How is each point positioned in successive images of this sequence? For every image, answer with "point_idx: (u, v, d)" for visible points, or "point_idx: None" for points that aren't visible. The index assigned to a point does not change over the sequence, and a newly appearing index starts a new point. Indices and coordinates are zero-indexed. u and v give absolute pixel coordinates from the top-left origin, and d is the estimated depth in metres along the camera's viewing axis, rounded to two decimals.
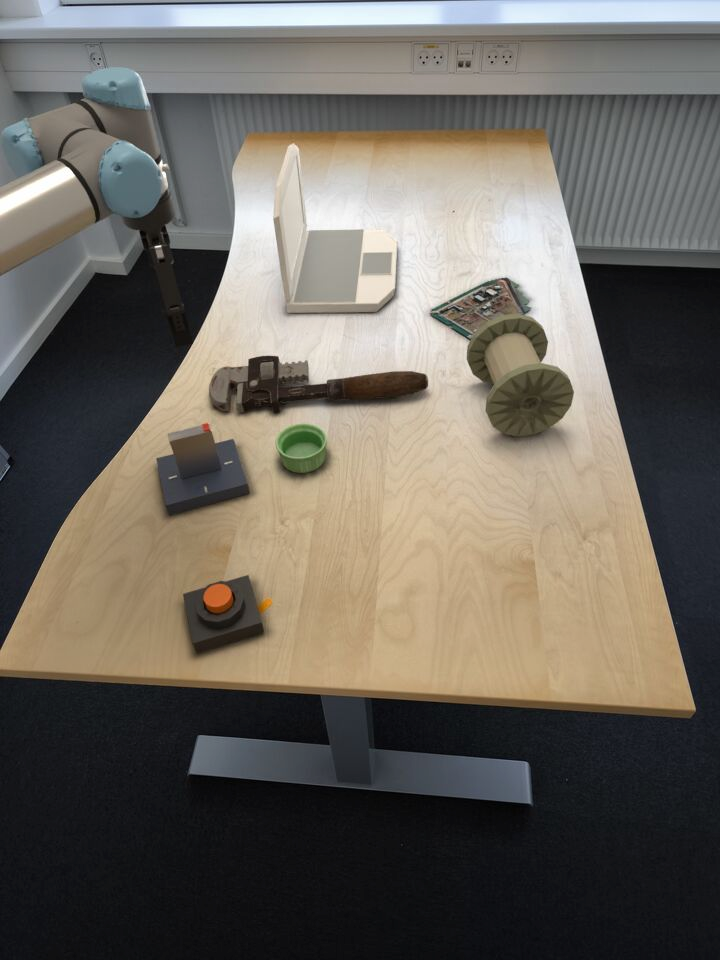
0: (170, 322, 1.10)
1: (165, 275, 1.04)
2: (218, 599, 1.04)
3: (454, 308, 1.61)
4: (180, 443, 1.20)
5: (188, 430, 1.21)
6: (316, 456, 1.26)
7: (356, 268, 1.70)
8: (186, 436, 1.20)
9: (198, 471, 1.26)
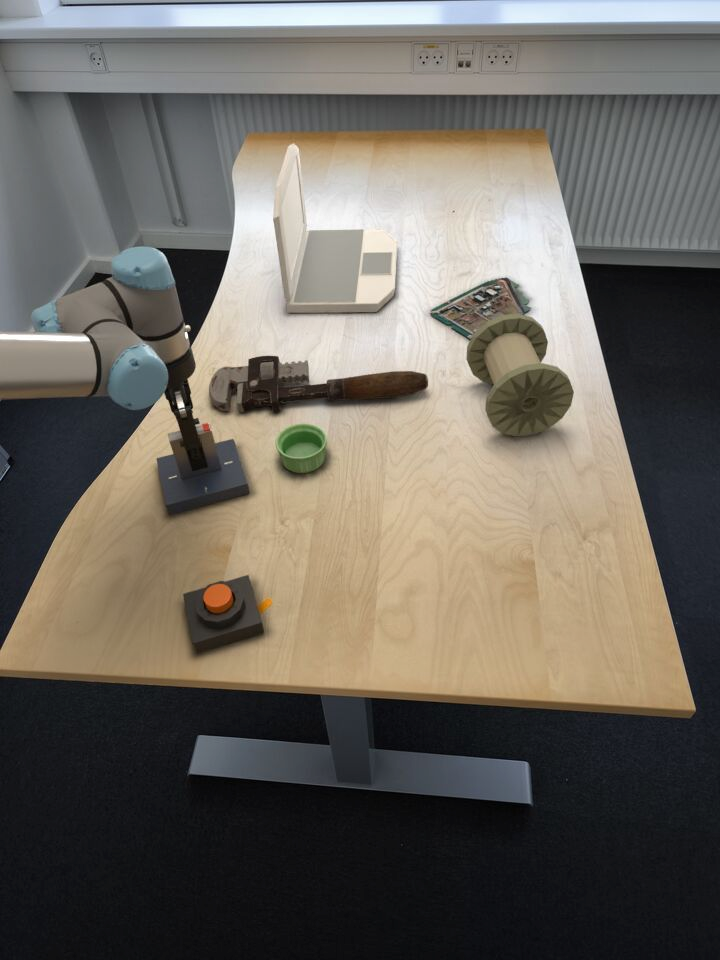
0: (187, 452, 1.21)
1: (187, 427, 1.13)
2: (218, 599, 1.04)
3: (454, 308, 1.61)
4: None
5: None
6: (316, 456, 1.26)
7: (356, 268, 1.70)
8: None
9: (198, 471, 1.26)
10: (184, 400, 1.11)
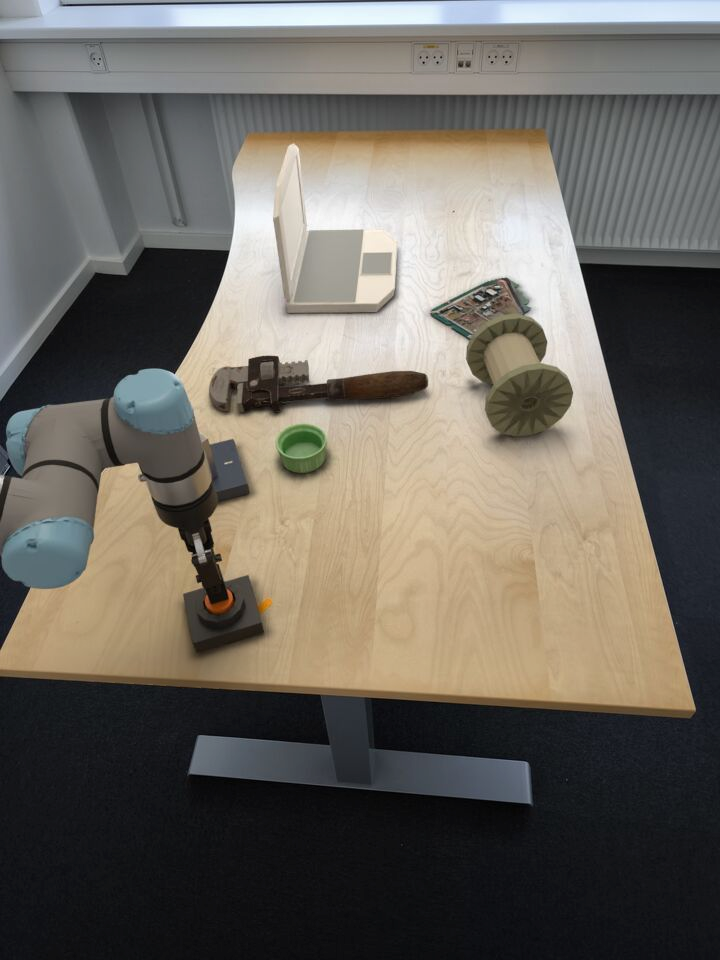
0: None
1: None
2: (219, 603, 1.05)
3: (454, 308, 1.61)
4: None
5: None
6: (316, 456, 1.26)
7: (356, 268, 1.70)
8: None
9: None
10: None
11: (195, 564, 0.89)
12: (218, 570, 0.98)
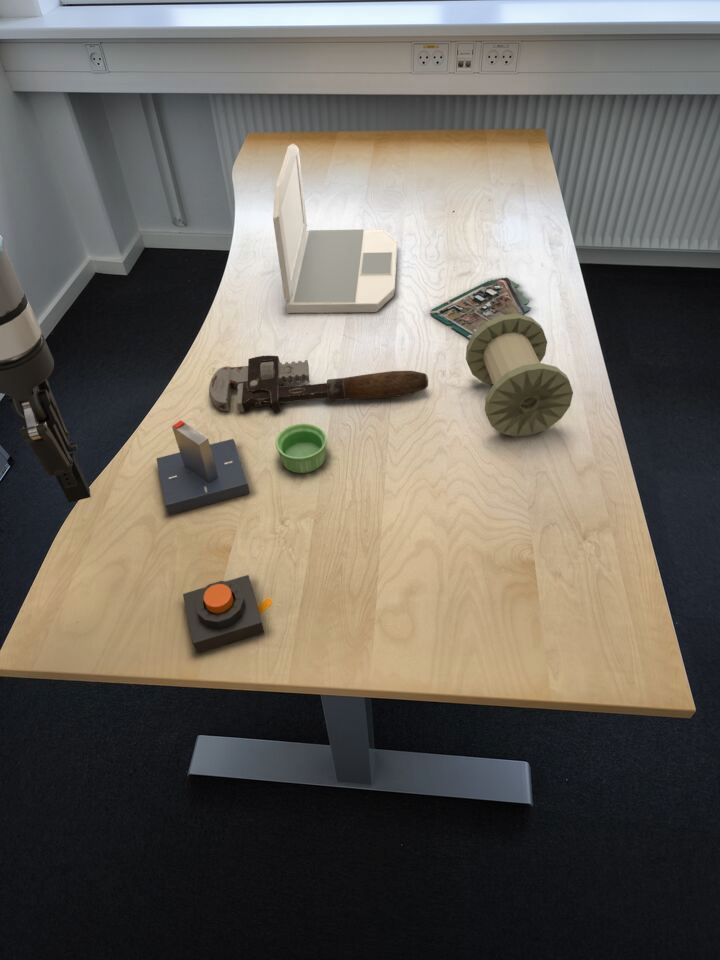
0: (77, 465, 0.91)
1: None
2: (218, 599, 1.04)
3: (454, 308, 1.61)
4: None
5: (187, 433, 1.20)
6: (316, 456, 1.26)
7: (356, 268, 1.70)
8: (196, 431, 1.21)
9: None
10: None
11: (24, 436, 0.78)
12: (68, 457, 0.87)
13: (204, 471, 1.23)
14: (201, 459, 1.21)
